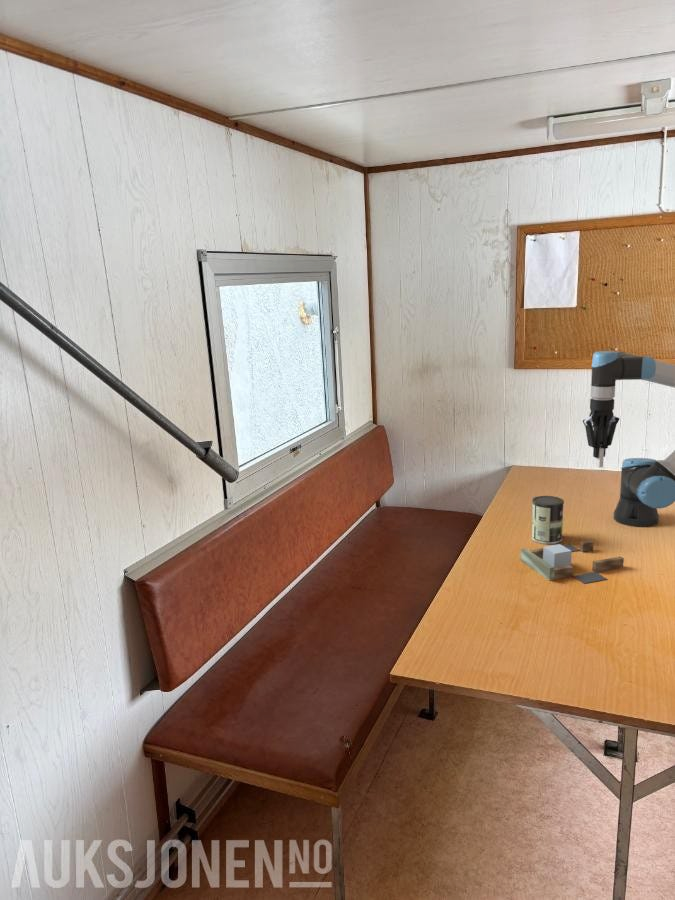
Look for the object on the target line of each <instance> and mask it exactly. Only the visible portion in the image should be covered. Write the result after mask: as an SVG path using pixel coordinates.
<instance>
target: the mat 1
mask: <svg viewBox="0 0 675 900" xmlns="http://www.w3.org/2000/svg"><path fill="white" fill-rule="evenodd" d="M561 545H562V546H564V547H566V548H567V549H569V550H571V551H572V553H573V552H581V551H580V548H577V547H576V546H574V545H572V544H570V543H568V544H561Z"/></svg>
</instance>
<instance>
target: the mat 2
mask: <svg viewBox="0 0 675 900" xmlns="http://www.w3.org/2000/svg"><path fill="white" fill-rule="evenodd" d="M572 577H573V578H574V579H575V580H578V582H581V583H582V584H589V583H595V582H601V581H607V580H608V578H607V577H605V576H603V575H602V574H600V573H599V572H594V571H592V572H587V573H581V574H574V575H573V576H572Z"/></svg>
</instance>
